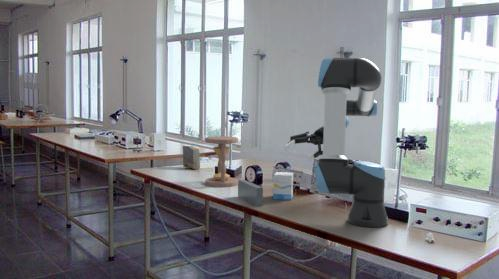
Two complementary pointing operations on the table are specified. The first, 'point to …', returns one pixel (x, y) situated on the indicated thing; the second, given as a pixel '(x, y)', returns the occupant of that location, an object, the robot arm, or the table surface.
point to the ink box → (283, 186)
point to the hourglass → (221, 162)
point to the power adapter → (430, 237)
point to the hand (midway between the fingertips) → (296, 153)
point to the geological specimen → (191, 157)
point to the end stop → (250, 192)
